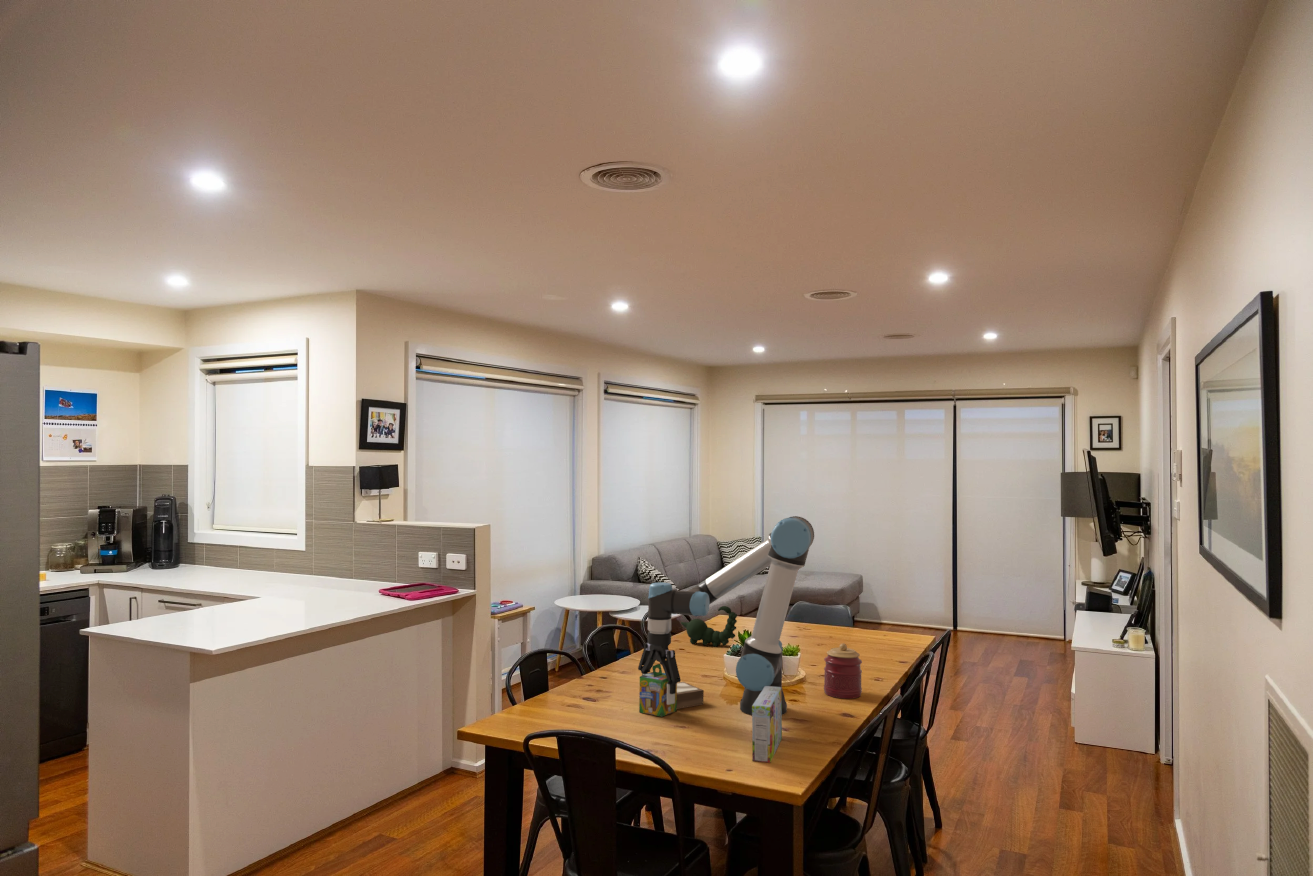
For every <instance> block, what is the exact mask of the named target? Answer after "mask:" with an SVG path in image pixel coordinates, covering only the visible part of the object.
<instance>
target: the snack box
mask: <svg viewBox="0 0 1313 876" xmlns="http://www.w3.org/2000/svg"><path fill="white" fill-rule="evenodd" d="M751 716H752V717H751V718H752V719H751V723H752V724H751V725H752V729H751V730H752V731H751V733H752V736H751V737H752V739H751V740H752V742H751V743H752V745H751V747H752V756H751V757H752V759H751V761H752V762H758V763H768V764H770V763H771V762H772V760H773V758H774V756H775V754H776V751H778V748H779V746H780V743H781V742H782V739H783V723H782V721H783V720H782V719H783V717H782V700H781V687H773V686H765V687H764V688H763V690H762V691H761V693H760V695H759V696H758V698H757V699H756V701H755V702H754V704H753V705H752V715H751Z"/></svg>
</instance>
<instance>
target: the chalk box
mask: <svg viewBox="0 0 1313 876" xmlns="http://www.w3.org/2000/svg"><path fill="white" fill-rule="evenodd" d="M651 669H652V671H650V672H648V674H645V675H642V674H641V675H640V676H639V693H638V694H639V701H638V702H639V704H638V707H639V708H638V709H639V710H638V712H639V713H641V714H646V715H652V716H657V717H661V718H663V717H665V716H667V715H670V714H672V713H675V712H677V710H678V709H677V683H678V682H677V683H676V693H675V703H674V704H669V705H667V683H668V679H667V677H666V674H665V672H663V670H662V665H661V664H660V663H657V664H655V665H654V664H653V666H652V668H651ZM656 669H658V671H656ZM671 680H672V678H671Z"/></svg>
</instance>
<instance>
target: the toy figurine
mask: <svg viewBox="0 0 1313 876" xmlns="http://www.w3.org/2000/svg"><path fill="white" fill-rule="evenodd" d="M717 610H718V611H724V612H725V613H726V614H728V618H727V620H726V624H725V627H724V629H723V630H722V631H719V630H715V629H714V628H713V627H709V626H708V624H707V623H706V621H704V620H702V619H701V618H693V619H691V620H690V621H689V622H688V621H685V622H684V621H681V622H680V624H681V626H683V627H684V628H685V629H686V634H687V636H688V637H689V638H690V639H689V642H690V644H692V645H695V643H696V644H697V643H698V641H702V645H704V646H707V645H709V644H712V647H714V648H716V647H718V646H720V645H721V644H722V646H727V644H729V643H730V640H729V639H732V640H733V639H734V638H735V637H736V634H735V633H734V631H735V630H737V626H736V624H737V623H738V620H737V618H738V614H737V613H736V612H734V611H732V609H731V608H730V606H726V605H722V606H720V607H718V609H717Z"/></svg>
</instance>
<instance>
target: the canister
mask: <svg viewBox="0 0 1313 876" xmlns="http://www.w3.org/2000/svg"><path fill="white" fill-rule="evenodd" d="M826 654H827V656H825V658H823V659H824V662H825V666H824V668H823V669H824V682H823V683H824V684H823V691H824V694H825V695H826V696H828V697H830V698H831V697H832V698H837V699H846V700H847V699H851V700H852V699H857V698H860V697H861V695H862V673H863V670H862V668H861V665H862V663H863V661H862V659H860V658H859V657H860V653H859V652H857V651H856V650H855V649H853V648H850V647H848V646H847V644H845V642H843V643H840V644H839V647H832V648H831V649H830V650H827V651H826Z"/></svg>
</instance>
